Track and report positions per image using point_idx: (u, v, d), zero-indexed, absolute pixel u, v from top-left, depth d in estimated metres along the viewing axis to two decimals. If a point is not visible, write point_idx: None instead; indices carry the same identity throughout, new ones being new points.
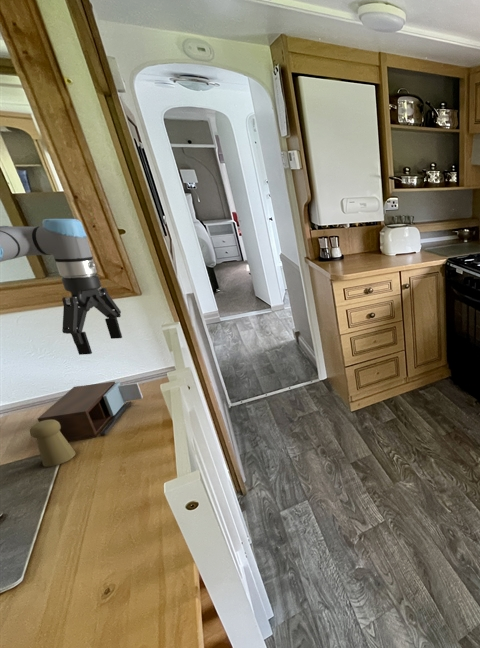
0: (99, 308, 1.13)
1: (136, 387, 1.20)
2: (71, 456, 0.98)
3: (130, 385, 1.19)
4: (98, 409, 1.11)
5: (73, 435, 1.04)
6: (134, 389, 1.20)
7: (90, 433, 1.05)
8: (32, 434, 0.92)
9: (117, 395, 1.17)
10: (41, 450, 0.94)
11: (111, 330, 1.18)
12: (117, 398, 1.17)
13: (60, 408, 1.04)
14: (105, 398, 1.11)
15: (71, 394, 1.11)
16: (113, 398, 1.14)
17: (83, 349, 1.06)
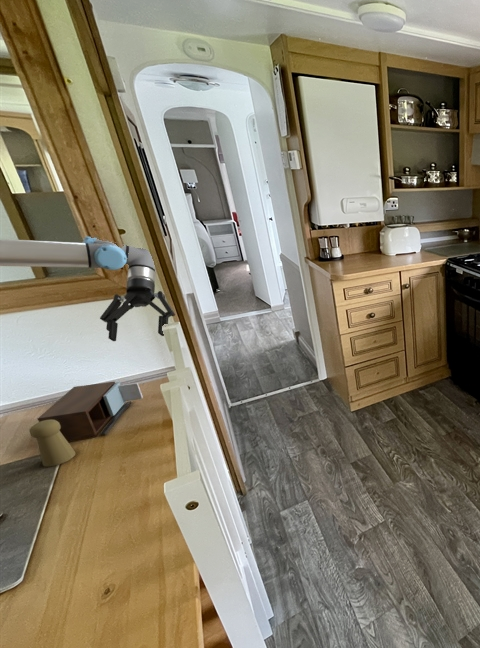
0: (123, 310, 1.28)
1: (136, 387, 1.20)
2: (71, 456, 0.98)
3: (130, 385, 1.19)
4: (98, 409, 1.11)
5: (73, 435, 1.04)
6: (134, 389, 1.20)
7: (90, 433, 1.05)
8: (32, 434, 0.92)
9: (117, 395, 1.17)
10: (41, 450, 0.94)
11: (113, 331, 1.24)
12: (117, 398, 1.17)
13: (60, 408, 1.04)
14: (105, 398, 1.11)
15: (71, 394, 1.11)
16: (113, 398, 1.14)
17: None
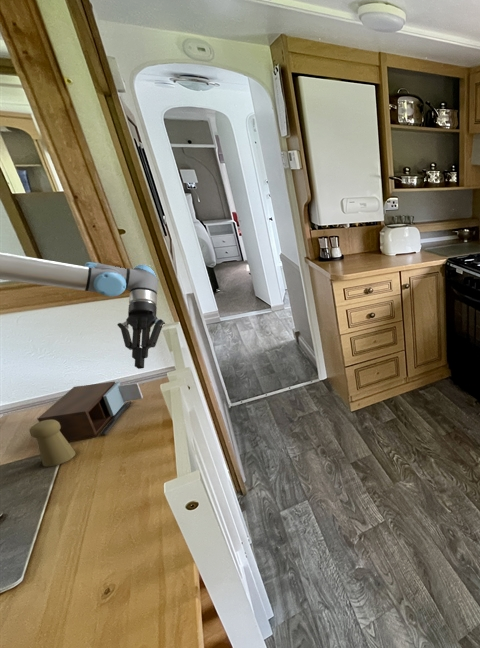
0: (138, 334, 1.29)
1: (136, 387, 1.20)
2: (71, 456, 0.98)
3: (130, 385, 1.19)
4: (98, 409, 1.11)
5: (73, 435, 1.04)
6: (134, 389, 1.20)
7: (90, 433, 1.05)
8: (32, 434, 0.92)
9: (117, 395, 1.17)
10: (41, 450, 0.94)
11: None
12: (117, 398, 1.17)
13: (60, 408, 1.04)
14: (105, 398, 1.11)
15: (71, 394, 1.11)
16: (113, 398, 1.14)
17: (142, 362, 1.26)
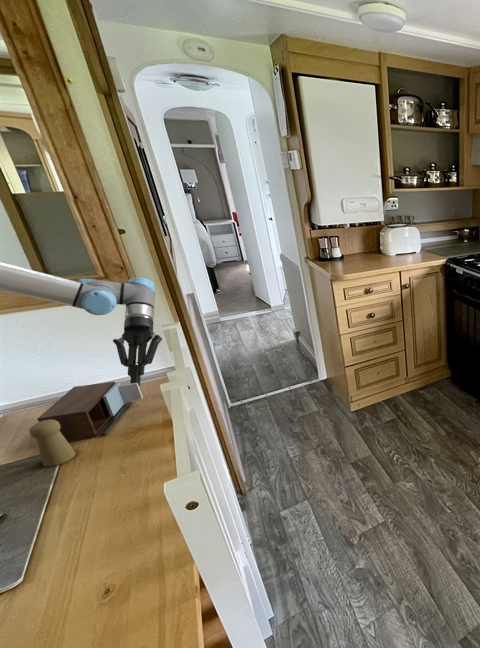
0: (134, 350, 1.25)
1: (136, 387, 1.20)
2: (71, 456, 0.98)
3: (130, 385, 1.19)
4: (98, 409, 1.11)
5: (73, 435, 1.04)
6: (134, 389, 1.20)
7: (90, 433, 1.05)
8: (32, 434, 0.92)
9: (117, 395, 1.17)
10: (41, 450, 0.94)
11: None
12: (117, 398, 1.16)
13: (60, 408, 1.04)
14: (105, 398, 1.11)
15: (71, 394, 1.11)
16: (113, 398, 1.14)
17: (138, 380, 1.22)
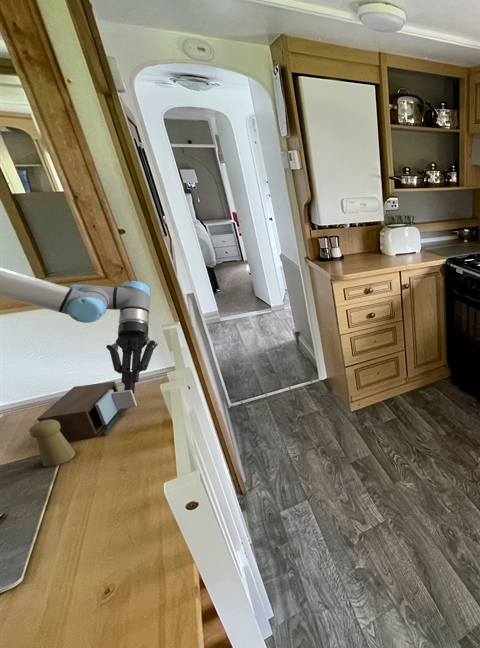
0: (128, 356, 1.21)
1: (130, 394, 1.15)
2: (71, 456, 0.98)
3: (123, 392, 1.15)
4: None
5: (73, 435, 1.04)
6: (128, 397, 1.15)
7: (90, 433, 1.05)
8: (32, 434, 0.92)
9: (110, 403, 1.13)
10: (41, 450, 0.94)
11: None
12: (110, 406, 1.12)
13: (60, 408, 1.04)
14: (97, 407, 1.07)
15: (71, 394, 1.11)
16: (105, 406, 1.10)
17: (132, 387, 1.18)
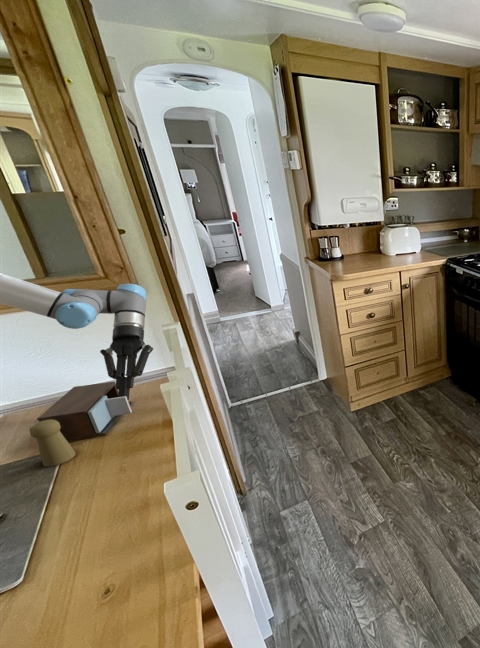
0: (123, 361, 1.17)
1: (124, 401, 1.12)
2: (71, 456, 0.98)
3: (118, 399, 1.11)
4: None
5: (73, 435, 1.04)
6: (122, 403, 1.12)
7: (90, 433, 1.05)
8: (32, 434, 0.92)
9: (104, 410, 1.09)
10: (41, 450, 0.94)
11: None
12: (104, 413, 1.09)
13: (60, 408, 1.04)
14: (90, 414, 1.03)
15: (71, 394, 1.11)
16: (99, 414, 1.07)
17: (127, 393, 1.14)
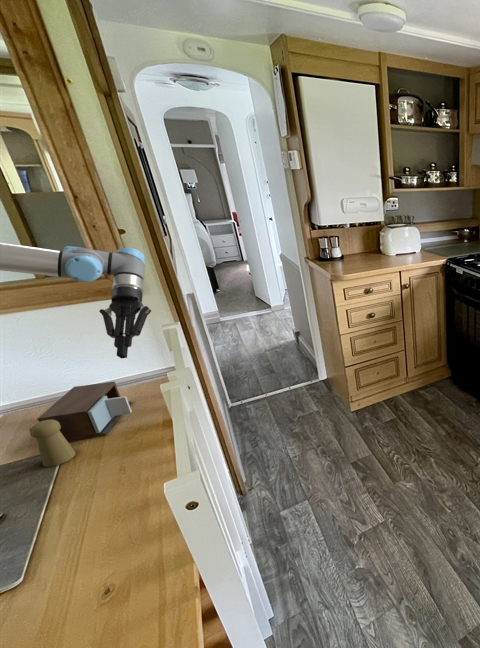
0: (121, 321, 1.20)
1: (124, 401, 1.12)
2: (71, 456, 0.98)
3: (118, 399, 1.11)
4: None
5: (73, 435, 1.04)
6: (122, 403, 1.12)
7: (90, 433, 1.05)
8: (32, 434, 0.92)
9: (104, 410, 1.09)
10: (41, 450, 0.94)
11: None
12: (104, 413, 1.09)
13: (60, 408, 1.04)
14: (90, 414, 1.03)
15: (71, 394, 1.11)
16: (99, 414, 1.07)
17: (125, 351, 1.17)
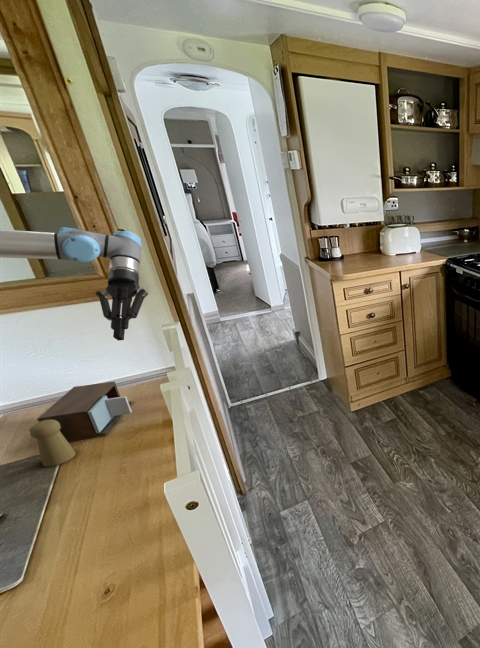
0: (118, 304, 1.20)
1: (124, 401, 1.12)
2: (71, 456, 0.98)
3: (118, 399, 1.11)
4: None
5: (73, 435, 1.04)
6: (122, 403, 1.12)
7: (90, 433, 1.05)
8: (32, 434, 0.92)
9: (104, 410, 1.09)
10: (41, 450, 0.94)
11: None
12: (104, 413, 1.09)
13: (60, 408, 1.04)
14: (90, 414, 1.03)
15: (71, 394, 1.11)
16: (99, 414, 1.07)
17: (122, 333, 1.17)
